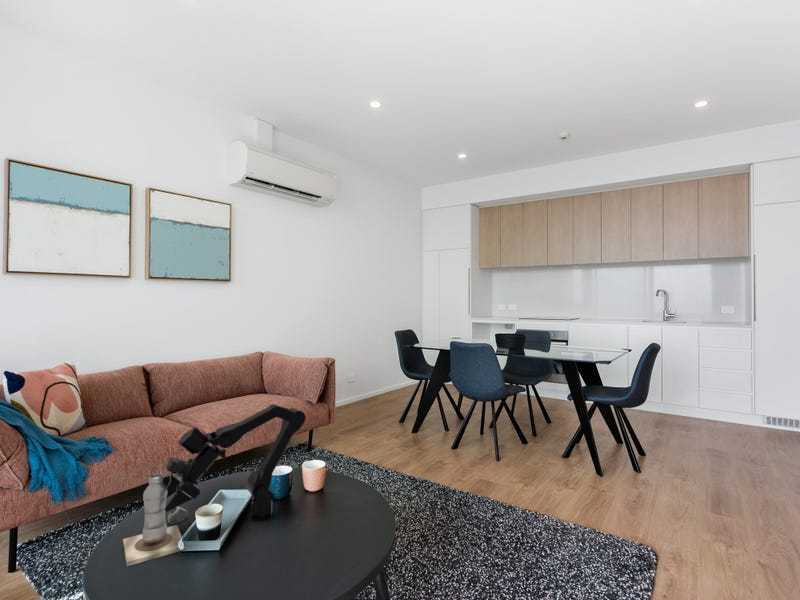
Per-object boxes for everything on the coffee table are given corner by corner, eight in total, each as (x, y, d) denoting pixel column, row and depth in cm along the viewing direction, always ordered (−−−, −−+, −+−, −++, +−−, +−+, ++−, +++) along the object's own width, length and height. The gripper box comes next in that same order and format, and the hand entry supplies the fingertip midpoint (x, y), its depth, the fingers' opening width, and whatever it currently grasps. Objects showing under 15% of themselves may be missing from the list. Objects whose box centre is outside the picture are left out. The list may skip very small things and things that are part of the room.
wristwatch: (166, 523, 144) (166, 508, 144) (184, 517, 148) (185, 502, 149) (169, 527, 141) (170, 511, 142) (189, 520, 146) (189, 505, 146)
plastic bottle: (170, 540, 131) (172, 475, 131) (146, 549, 125) (148, 481, 126) (161, 533, 135) (163, 469, 135) (138, 542, 129) (140, 476, 130)
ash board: (176, 528, 140) (176, 524, 140) (185, 549, 128) (185, 544, 128) (123, 542, 131) (123, 538, 131) (126, 566, 119) (126, 561, 119)
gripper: (178, 440, 143) (139, 481, 136) (188, 456, 128) (145, 502, 121) (203, 459, 147) (166, 499, 140) (216, 476, 132) (176, 522, 125)
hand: (163, 505), depth 132 cm, fingers open, 9 cm apart
